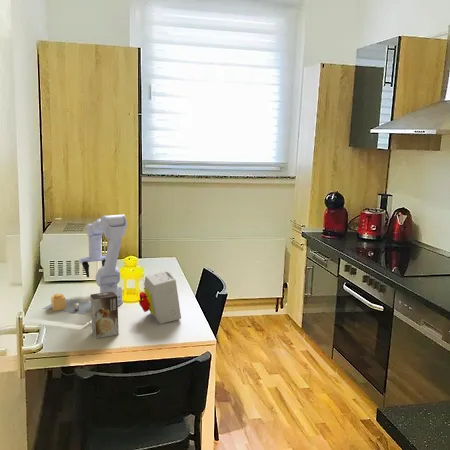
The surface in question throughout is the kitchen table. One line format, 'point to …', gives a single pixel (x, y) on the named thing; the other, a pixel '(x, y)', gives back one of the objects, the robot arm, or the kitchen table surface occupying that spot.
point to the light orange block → (58, 302)
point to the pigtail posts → (76, 307)
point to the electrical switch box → (161, 297)
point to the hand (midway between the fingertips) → (95, 275)
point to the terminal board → (69, 305)
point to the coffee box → (104, 314)
